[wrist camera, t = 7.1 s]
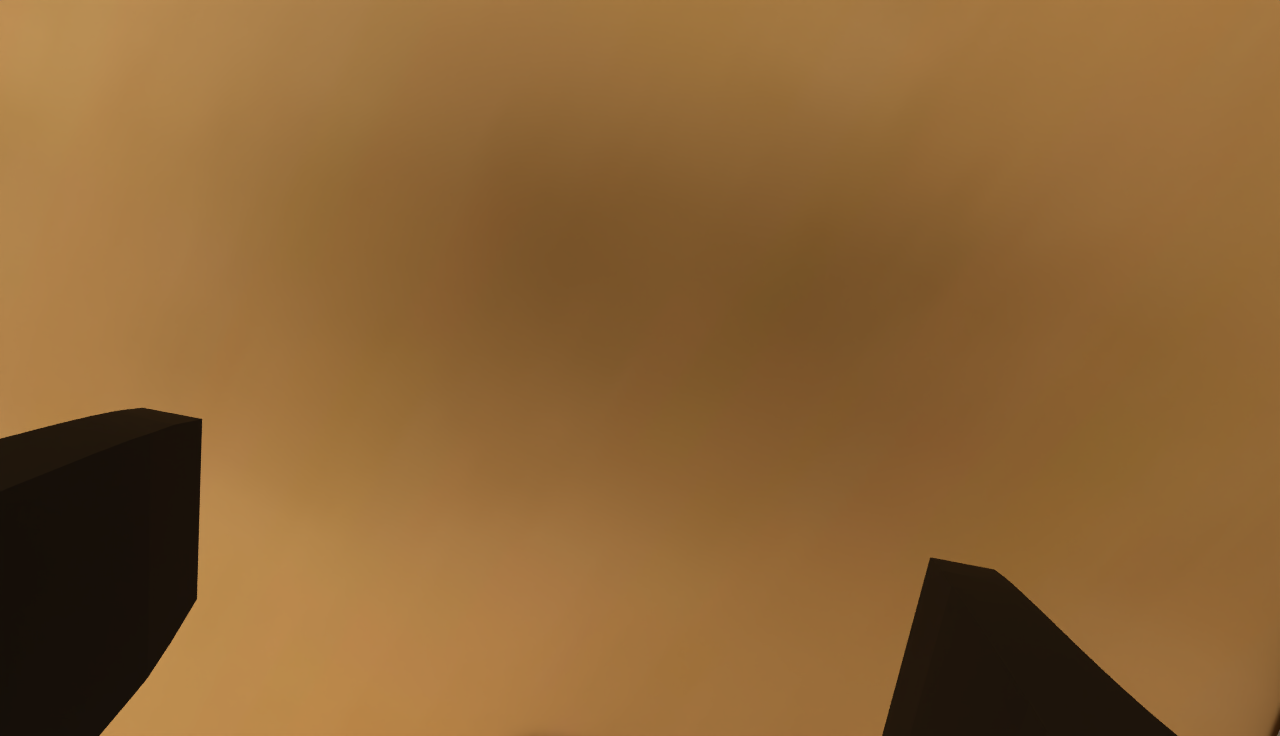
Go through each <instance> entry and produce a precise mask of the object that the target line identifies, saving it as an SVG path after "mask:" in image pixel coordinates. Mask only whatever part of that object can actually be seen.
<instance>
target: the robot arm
mask: <svg viewBox="0 0 1280 736" xmlns="http://www.w3.org/2000/svg"><path fill="white" fill-rule="evenodd" d="M201 438H202V419H199V418H194V417H188V416H183V415H178V414H173V413H167V412H162V411H157V410H152V409H146V408H137V409H127V410H120V411H114V412H109V413H104V414H99V415H94V416H89V417H85V418H81V419H76V420H72V421H68V422H64V423H60V424H56V425H52V426H48V427H44V428H40V429H36V430H32V431H29V432H25V433H21V434H17V435H13V436H9V437H5V438H1V439H0V736H99V735H100V734H101V733H102V732H103V731H104V729H105V728H106V727H107V726H108V725H109V723H110V722H111V721H112V720H113V719H114V718H115V716H116V715H117V714H118V713H119V712H120V710H121V709H122V708H123V707H124V706H125V705H126V703H127V702H128V701H129V700H130V699H131V697H132V696H133V695H134V694H135V693H136V691H137V690H138V689H139V688H140V686H141V685H142V684H143V683H144V682H145V680H146V679H147V678H148V676H149V675H150V673H151V672H152V670H153V669H154V667H155V666H156V664H157V663H158V661H159V660H160V658H161V657H162V655H163V654H164V652H165V650H166V649H167V647H168V646H169V644H170V643H171V641H172V640H173V638H174V636H175V635H176V633H177V631H178V630H179V628H180V626H181V625H182V623H183V621H184V620H185V618H186V616H187V615H188V613H189V611H190V610H191V608H192V606H193V605H194V603H195V601H196V600H197V577H198V542H199V508H200V473H201ZM882 736H1177V735H1176V734H1175V733H1174V732H1172V731H1171V730H1170V729H1169V728H1168V727H1166V726H1165V725H1164V724H1163V723H1162V722H1160V721H1159V720H1158V719H1157V718H1156V717H1155V716H1153V715H1152V714H1151V713H1150V712H1149V711H1148V710H1146V709H1145V708H1144V707H1143V706H1142V705H1141V704H1140V703H1139V702H1137V701H1136V700H1135V699H1134V698H1133V697H1132V696H1131V695H1130V694H1128V693H1127V692H1126V691H1125V690H1124V689H1123V688H1122V687H1121V686H1120V685H1118V684H1117V683H1116V682H1115V681H1114V680H1113V679H1112V678H1111V677H1110V676H1109V675H1108V674H1106V673H1105V672H1104V671H1103V670H1102V669H1101V668H1100V667H1099V666H1098V665H1097V664H1096V663H1095V662H1094V661H1093V660H1092V659H1091V658H1089V657H1088V656H1087V655H1086V654H1085V653H1084V652H1083V651H1082V650H1081V649H1080V648H1079V647H1078V646H1077V645H1076V644H1075V643H1074V642H1073V641H1072V640H1071V639H1070V638H1069V637H1068V636H1067V635H1065V634H1064V633H1063V632H1062V631H1061V630H1060V629H1059V628H1058V627H1057V626H1056V625H1055V624H1054V623H1053V622H1052V621H1051V620H1050V619H1049V618H1048V617H1047V616H1046V615H1045V614H1044V613H1043V612H1042V611H1041V610H1040V609H1039V608H1038V607H1037V606H1036V605H1035V604H1033V603H1032V602H1031V601H1030V600H1029V599H1028V598H1027V597H1026V596H1025V595H1024V594H1023V593H1022V592H1021V591H1020V590H1019V589H1017V588H1016V587H1015V586H1014V585H1013V584H1012V583H1011V582H1010V581H1008V580H1007V579H1006V578H1005V577H1004V576H1002V575H1001V574H1000V573H998V572H997V571H996V570H993V569H988V568H983V567H978V566H972V565H967V564H962V563H957V562H951V561H946V560H941V559H936V558H930V560H929V564H928V568H927V571H926V575H925V579H924V583H923V586H922V590H921V594H920V597H919V601H918V605H917V609H916V612H915V616H914V620H913V623H912V627H911V631H910V635H909V638H908V642H907V646H906V649H905V653H904V657H903V661H902V664H901V668H900V672H899V675H898V679H897V683H896V687H895V690H894V694H893V698H892V701H891V705H890V709H889V713H888V716H887V720H886V724H885V727H884V731H883V735H882ZM1277 736H1280V730H1279V733H1278V735H1277Z"/></svg>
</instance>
